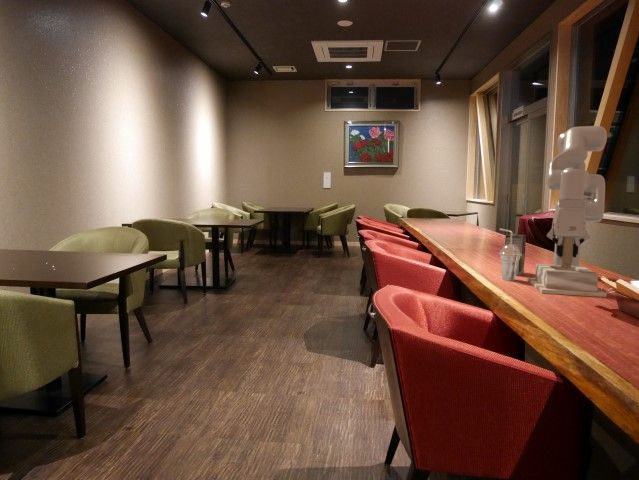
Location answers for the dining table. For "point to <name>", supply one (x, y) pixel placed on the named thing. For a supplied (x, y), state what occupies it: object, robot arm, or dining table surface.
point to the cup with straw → (509, 259)
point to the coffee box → (520, 243)
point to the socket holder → (566, 280)
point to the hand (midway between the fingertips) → (566, 256)
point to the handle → (567, 250)
